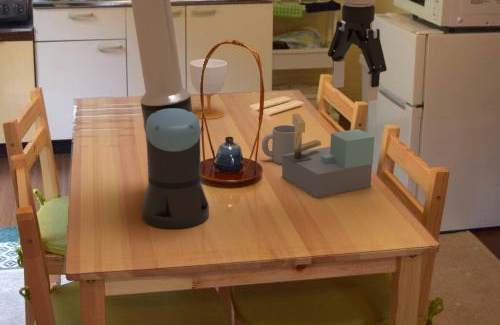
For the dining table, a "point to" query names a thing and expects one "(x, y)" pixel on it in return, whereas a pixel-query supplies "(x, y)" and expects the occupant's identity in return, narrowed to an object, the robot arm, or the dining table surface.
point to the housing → (323, 174)
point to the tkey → (298, 145)
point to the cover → (350, 149)
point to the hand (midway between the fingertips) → (354, 93)
